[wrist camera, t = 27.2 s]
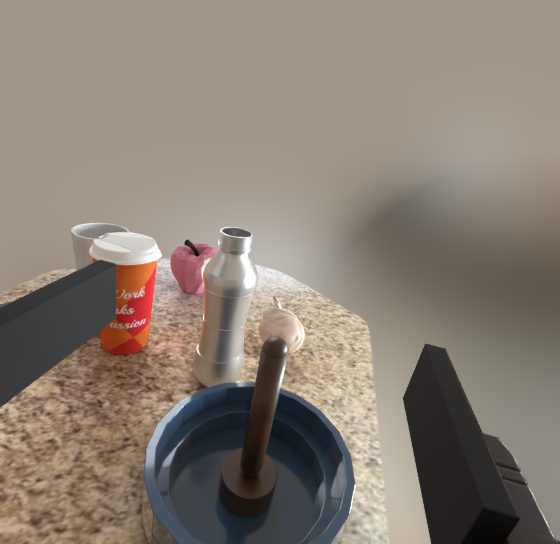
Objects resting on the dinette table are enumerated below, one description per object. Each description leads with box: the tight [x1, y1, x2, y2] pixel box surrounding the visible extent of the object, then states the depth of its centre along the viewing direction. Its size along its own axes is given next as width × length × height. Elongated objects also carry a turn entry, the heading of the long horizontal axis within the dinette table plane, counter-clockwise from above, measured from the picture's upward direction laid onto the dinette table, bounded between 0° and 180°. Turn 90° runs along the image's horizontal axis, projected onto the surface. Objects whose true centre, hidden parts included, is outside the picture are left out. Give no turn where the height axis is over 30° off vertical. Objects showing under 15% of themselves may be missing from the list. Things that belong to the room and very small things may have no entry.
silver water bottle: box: [193, 227, 258, 387], centre depth 42 cm, size 6×7×20 cm
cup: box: [71, 223, 129, 271], centre depth 56 cm, size 8×8×12 cm
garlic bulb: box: [259, 296, 304, 355], centre depth 53 cm, size 7×6×8 cm
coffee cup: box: [89, 232, 161, 355], centre depth 47 cm, size 8×8×15 cm
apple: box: [171, 240, 219, 294], centre depth 66 cm, size 10×9×10 cm
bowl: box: [142, 382, 355, 544], centre depth 31 cm, size 18×18×6 cm
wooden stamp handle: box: [219, 336, 289, 517], centre depth 29 cm, size 5×5×16 cm
